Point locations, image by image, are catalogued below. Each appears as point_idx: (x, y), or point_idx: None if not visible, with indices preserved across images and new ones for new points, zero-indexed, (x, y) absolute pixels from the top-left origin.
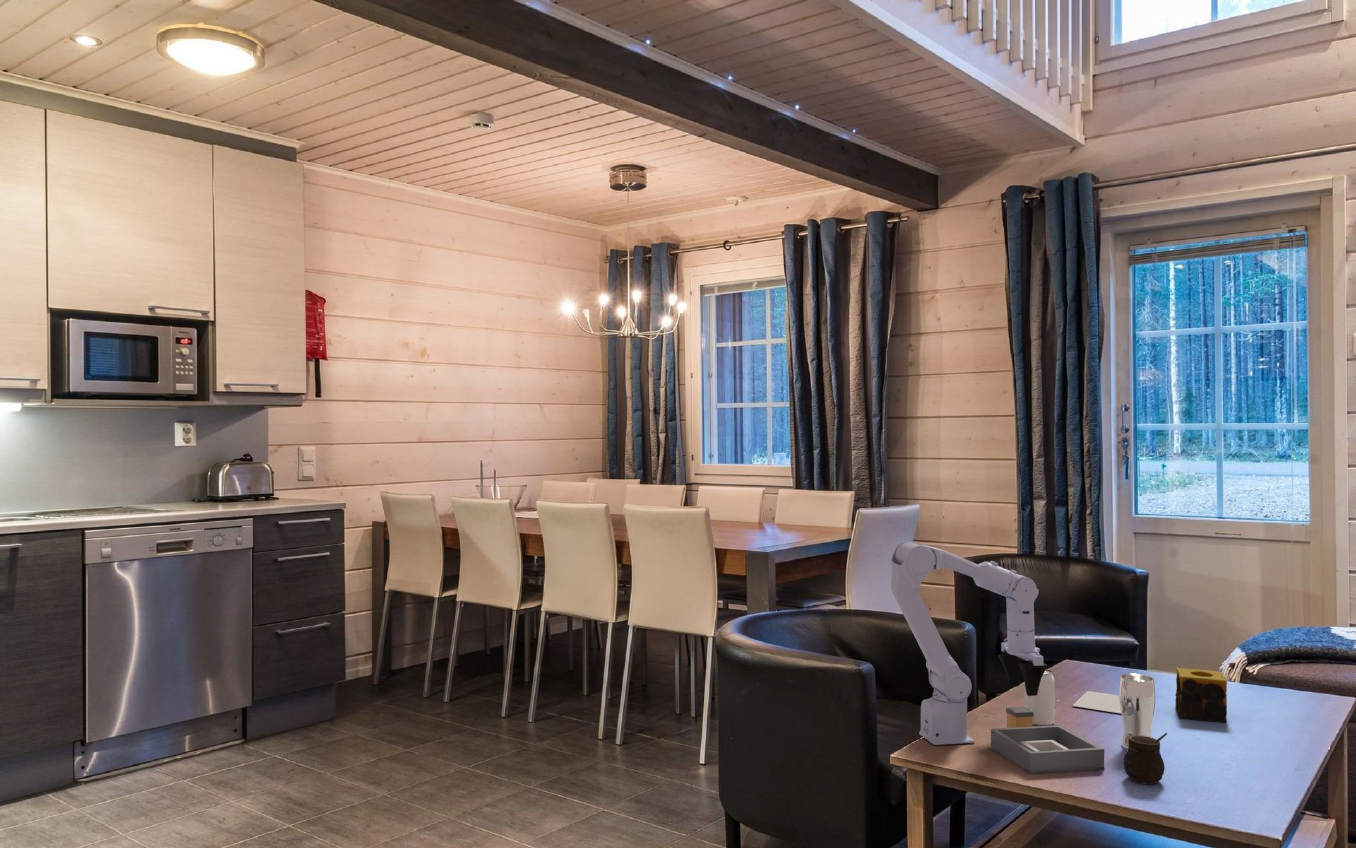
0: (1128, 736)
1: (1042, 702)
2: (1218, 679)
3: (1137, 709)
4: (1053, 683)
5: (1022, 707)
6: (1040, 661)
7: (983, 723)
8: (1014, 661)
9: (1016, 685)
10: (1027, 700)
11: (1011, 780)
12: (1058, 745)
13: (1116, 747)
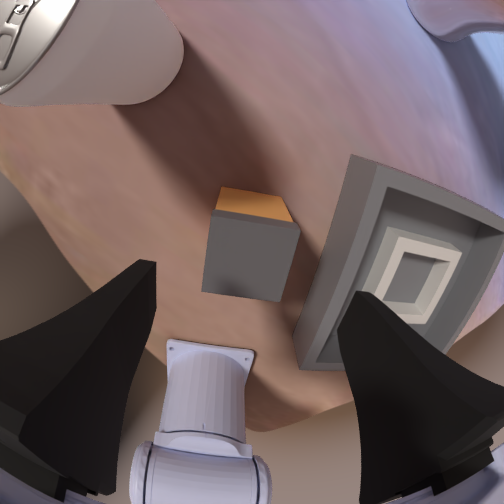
0: (462, 32)
1: (153, 59)
2: None
3: None
4: None
5: (224, 231)
6: (502, 469)
7: (103, 238)
8: (95, 429)
9: (153, 280)
10: (95, 103)
11: None
12: (429, 254)
13: (423, 43)
